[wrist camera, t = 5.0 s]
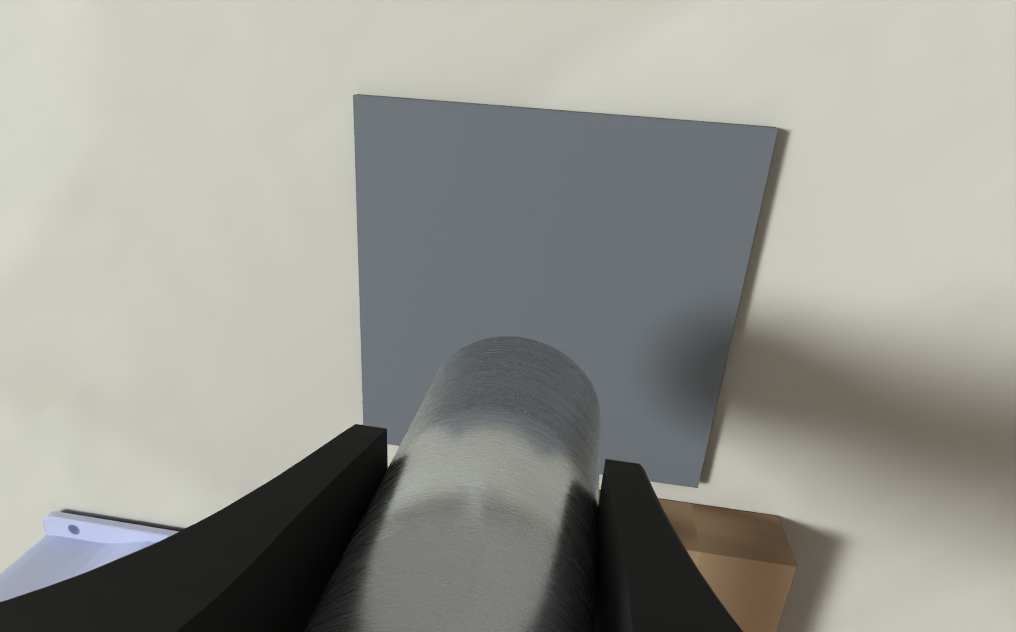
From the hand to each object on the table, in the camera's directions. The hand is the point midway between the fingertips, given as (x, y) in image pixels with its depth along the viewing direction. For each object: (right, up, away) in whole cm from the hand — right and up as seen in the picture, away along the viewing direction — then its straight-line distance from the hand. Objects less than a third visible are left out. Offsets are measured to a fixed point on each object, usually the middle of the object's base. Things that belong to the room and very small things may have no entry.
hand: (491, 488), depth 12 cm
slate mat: (+1, +4, +9) cm, 10 cm away
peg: (0, +1, +3) cm, 3 cm away
